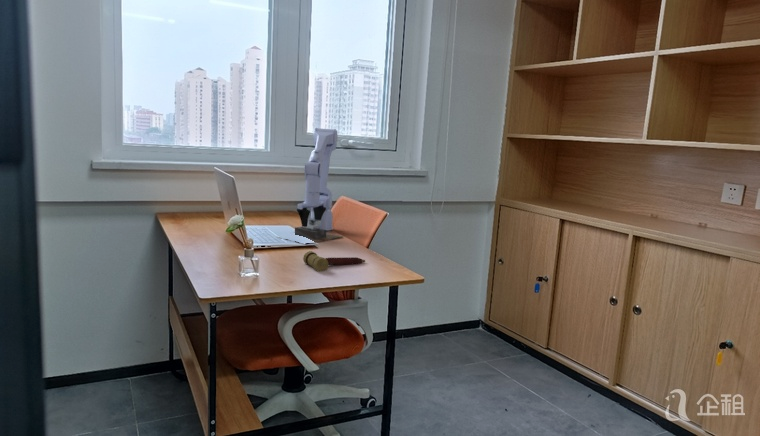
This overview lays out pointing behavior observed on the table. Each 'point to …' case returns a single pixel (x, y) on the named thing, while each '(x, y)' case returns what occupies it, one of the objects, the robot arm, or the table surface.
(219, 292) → the table surface
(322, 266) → the gavel
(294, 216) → the table surface
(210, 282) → the table surface
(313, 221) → the steel bracket
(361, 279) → the table surface
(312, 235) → the slot board
